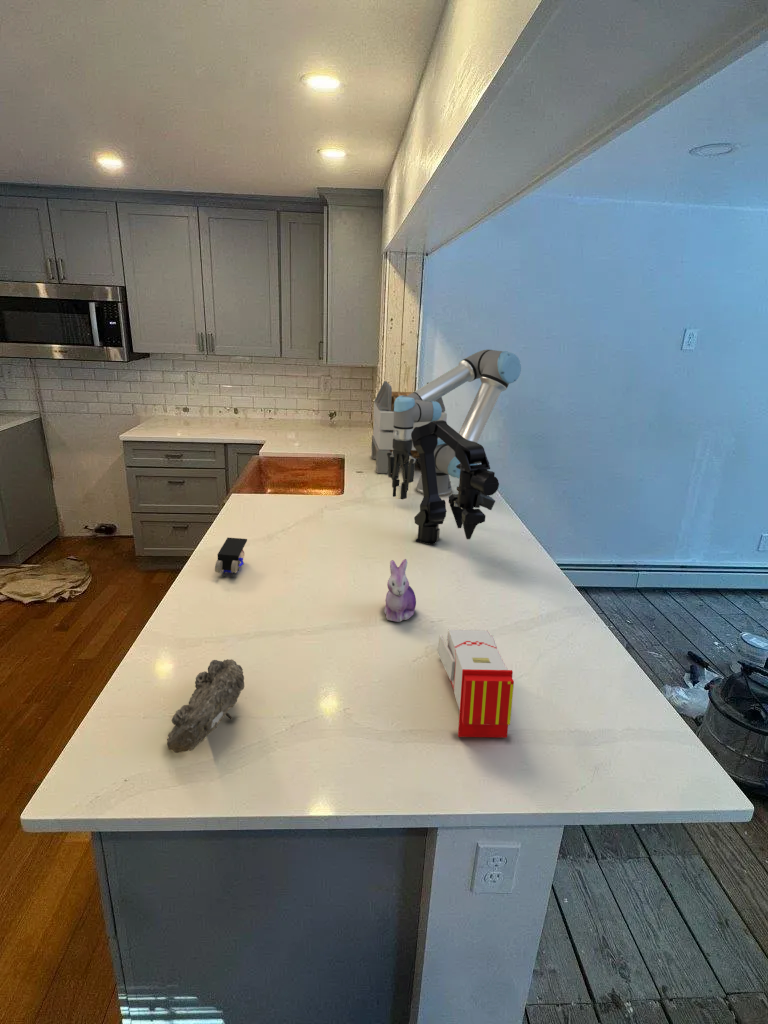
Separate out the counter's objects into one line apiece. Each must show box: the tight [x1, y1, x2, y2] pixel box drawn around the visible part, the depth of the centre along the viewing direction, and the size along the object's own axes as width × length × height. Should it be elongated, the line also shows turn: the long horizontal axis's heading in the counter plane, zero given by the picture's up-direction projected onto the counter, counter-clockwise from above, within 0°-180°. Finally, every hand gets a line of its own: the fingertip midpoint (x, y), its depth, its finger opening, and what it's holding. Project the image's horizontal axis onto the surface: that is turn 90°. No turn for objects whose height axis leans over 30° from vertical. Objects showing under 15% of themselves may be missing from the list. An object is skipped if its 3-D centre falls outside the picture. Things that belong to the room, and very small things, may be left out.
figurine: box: [384, 558, 417, 623], centre depth 145 cm, size 9×10×15 cm
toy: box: [437, 628, 515, 738], centre depth 117 cm, size 12×13×30 cm
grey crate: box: [370, 380, 448, 474], centre depth 281 cm, size 34×33×41 cm
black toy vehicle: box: [214, 537, 248, 578], centre depth 166 cm, size 7×8×15 cm
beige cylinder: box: [395, 485, 402, 500], centre depth 223 cm, size 4×4×4 cm
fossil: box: [166, 658, 245, 754], centre depth 106 cm, size 22×10×15 cm
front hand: (463, 533), depth 177 cm, fingers open, 9 cm apart
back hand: (399, 497), depth 223 cm, fingers closed on beige cylinder, 3 cm apart
